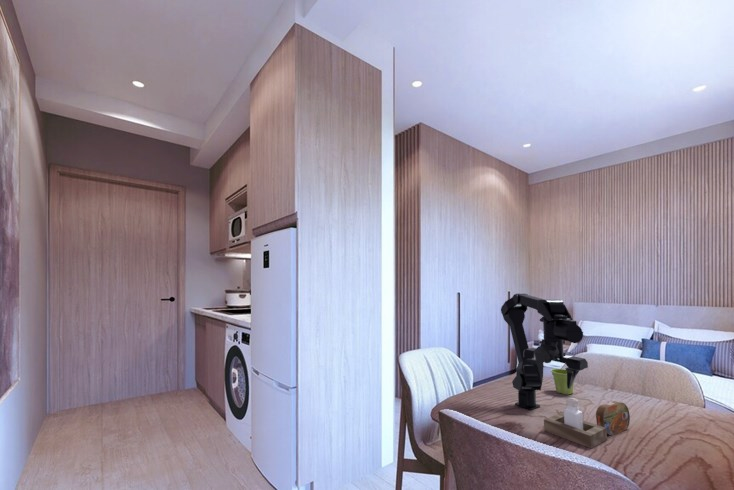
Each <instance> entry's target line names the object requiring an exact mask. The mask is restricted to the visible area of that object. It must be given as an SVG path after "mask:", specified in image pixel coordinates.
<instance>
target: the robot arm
mask: <svg viewBox="0 0 734 490" xmlns="http://www.w3.org/2000/svg"><path fill="white" fill-rule="evenodd" d="M528 308H531V309H534V310H536V311H537V313H538V314H539V315H541V317H540V319H539V322H541V323H542V326H543V328H542V329H543V339H541V342H540V345H539V346H537V347H536V348H535V347H531V348H530V347H529V344H528V340H527V337H526V335H527V334H526V332H525V328H524V325H523V324H524V321H525V319H526V311H528ZM500 312H501V313H500V314H502V318H503V321H504V322H505V323H506V324H507V325H508V326H509V328H510V332H511V337H512V340H513V345H514V349H515V353H516V357H517V362H518V363H517V366H516V369H515V373H516V375H515V377H514V378H513V380H512V382H511V383H512V387H513V388H514V389H515V390H517V392H518V393H517V395H518V396H517V399H518V401H517V402H514V404H515V406H518V407H520V408H524V409H527V410H535V409H537V408H540V407H541V405H540V404H538V403H537V398H536V397H537V394H536V391H542V387H543V380H544V379H543V378H544V364H551V362H557V363H561V364H565V366H566V367H565V368H564V369H565V370H566V371H567V388H568V389H570V388H571V386H572V384H573V385H574V383H573V381H575V379H576V377H577V376H578V373H579V372H580V371H583V370H584V369H588V368H589V366H588V365H589V363H588V361H587V359H586V358H584V357H579V356H570V357H566V352H564V345H565V344H566V342H568V343H573V344H578V343H580V342H581V341H582V340H583V337H584V331H583V329H582V327H581V326H580V325H578V324H577V321H576V320H573V318H572V315H571V314H570V311H569V310H568V308H567V305H566V304H565V302H564V301H563V300H561V299H543V298H540V297H536V296H533V295H529V294H527V293H515V294H513V296H512V297H510V298H509V299H507V300H505V302H504V303H503V305H501V308H500Z"/></svg>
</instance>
